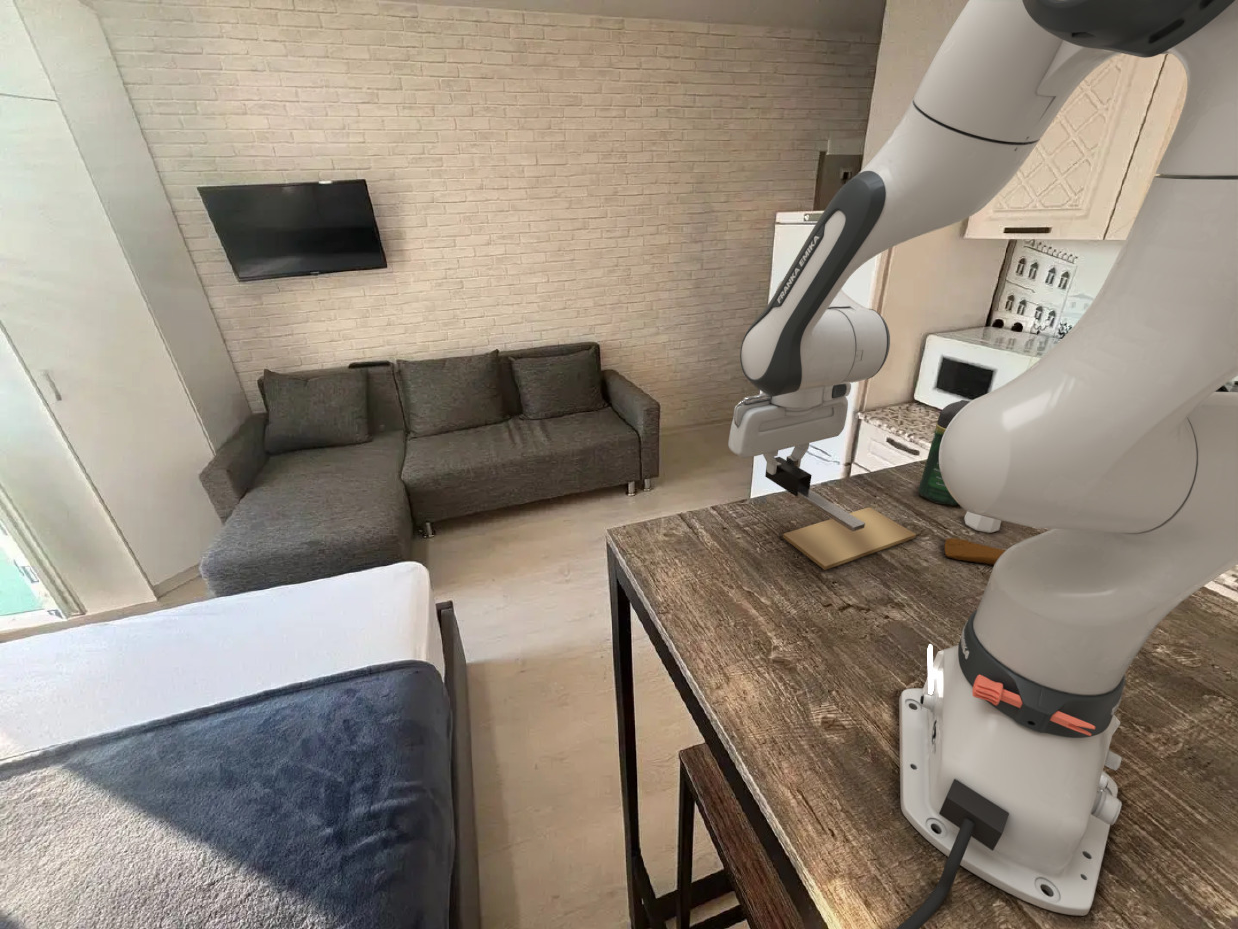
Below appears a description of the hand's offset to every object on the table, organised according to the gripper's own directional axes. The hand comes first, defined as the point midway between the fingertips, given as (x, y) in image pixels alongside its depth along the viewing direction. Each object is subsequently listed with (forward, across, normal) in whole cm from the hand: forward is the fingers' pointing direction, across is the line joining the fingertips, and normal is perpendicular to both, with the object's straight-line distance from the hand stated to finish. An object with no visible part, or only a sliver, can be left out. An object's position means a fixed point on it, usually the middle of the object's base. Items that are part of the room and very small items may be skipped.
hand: (783, 469), depth 82 cm
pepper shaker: (+14, +35, -13) cm, 40 cm away
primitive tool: (+14, +28, -22) cm, 38 cm away
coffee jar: (+14, +39, -3) cm, 41 cm away
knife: (+2, 0, -7) cm, 7 cm away
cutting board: (+14, +12, -5) cm, 19 cm away
